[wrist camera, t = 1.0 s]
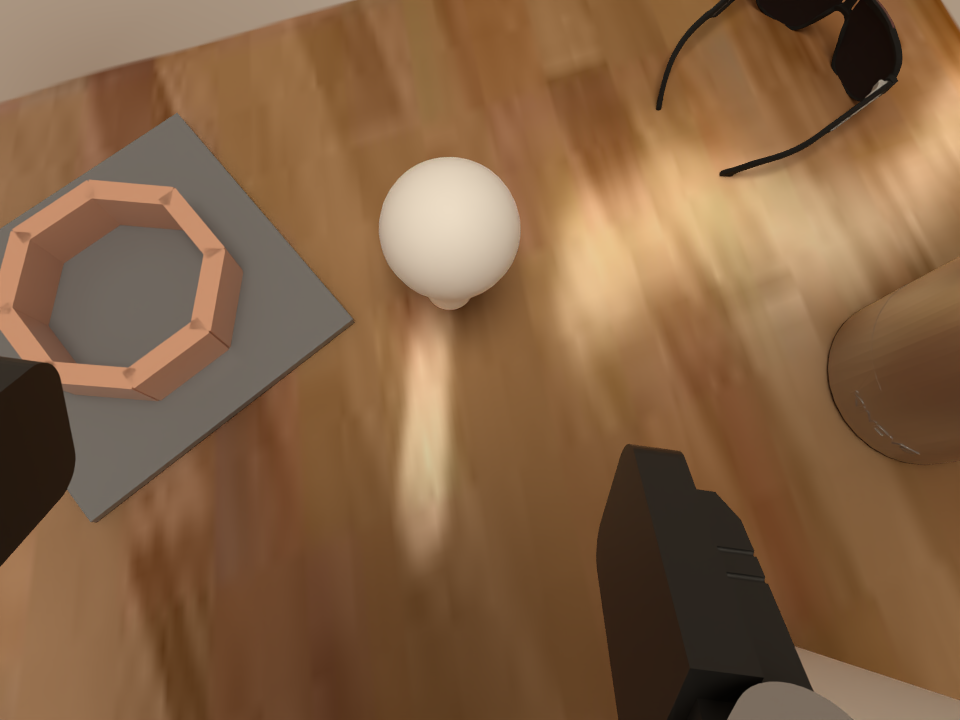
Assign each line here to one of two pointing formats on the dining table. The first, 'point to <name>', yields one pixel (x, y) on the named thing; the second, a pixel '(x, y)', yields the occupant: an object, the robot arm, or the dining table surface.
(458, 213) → the lightbulb
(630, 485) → the robot arm
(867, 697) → the alcohol
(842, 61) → the sunglasses
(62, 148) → the dining table surface
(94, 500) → the ring holder
